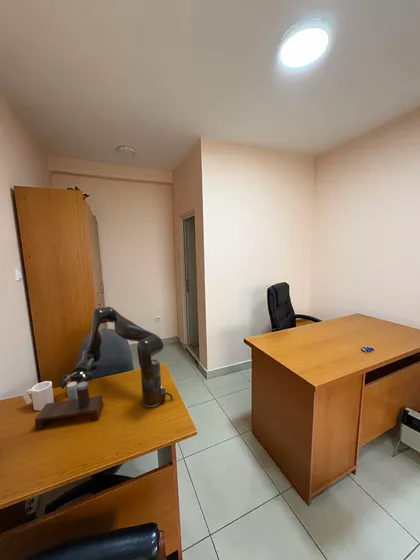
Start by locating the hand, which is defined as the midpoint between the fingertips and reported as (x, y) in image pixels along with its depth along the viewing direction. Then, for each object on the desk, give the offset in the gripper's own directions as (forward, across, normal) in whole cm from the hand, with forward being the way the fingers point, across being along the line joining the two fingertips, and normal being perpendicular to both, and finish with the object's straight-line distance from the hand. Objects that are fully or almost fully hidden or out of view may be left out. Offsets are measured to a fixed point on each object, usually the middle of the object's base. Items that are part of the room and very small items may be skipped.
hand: (72, 385), depth 110 cm
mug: (-2, -16, +10) cm, 19 cm away
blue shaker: (0, 0, +9) cm, 9 cm away
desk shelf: (+10, +2, +9) cm, 14 cm away
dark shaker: (+10, +8, +4) cm, 13 cm away
